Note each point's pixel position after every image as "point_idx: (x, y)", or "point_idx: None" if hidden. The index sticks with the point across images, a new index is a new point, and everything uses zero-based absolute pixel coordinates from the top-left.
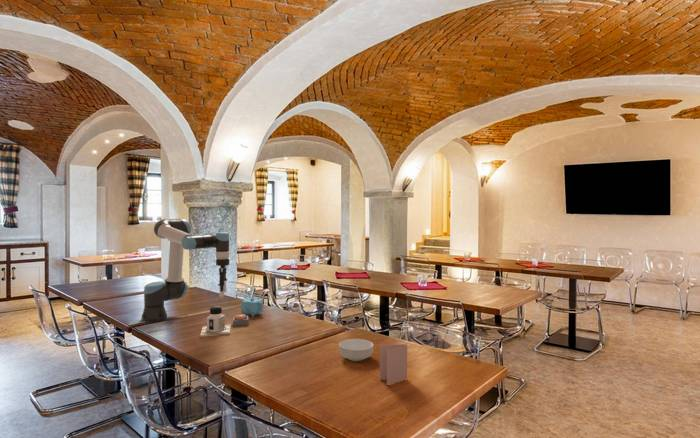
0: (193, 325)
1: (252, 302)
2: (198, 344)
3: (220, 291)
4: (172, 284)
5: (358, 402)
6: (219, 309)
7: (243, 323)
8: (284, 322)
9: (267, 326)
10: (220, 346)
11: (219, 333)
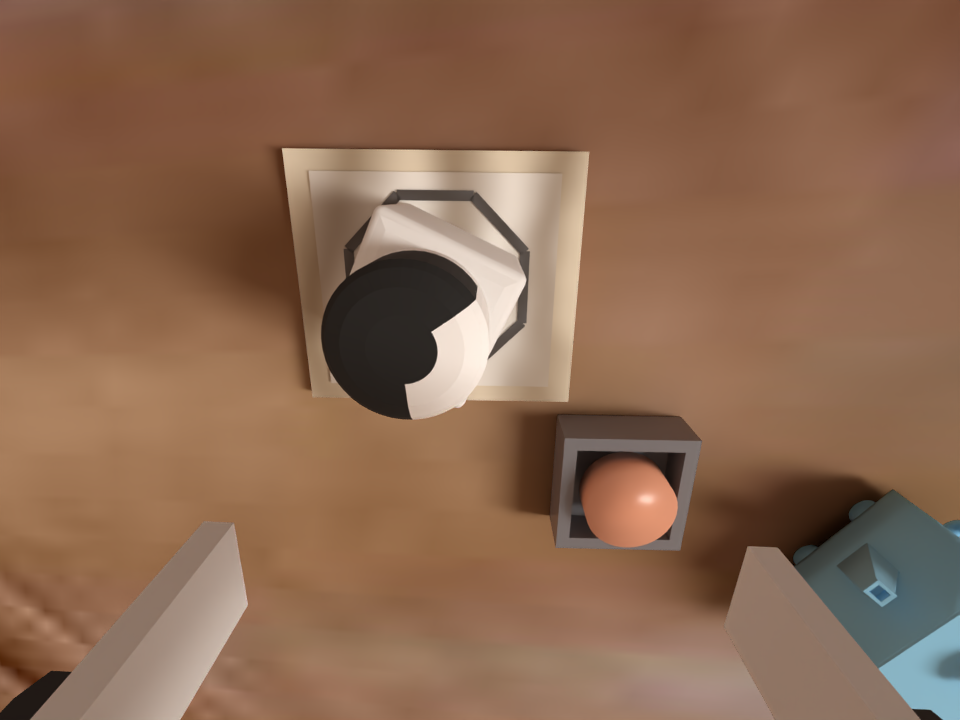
0: (720, 35)
1: (882, 663)
2: (75, 154)
3: (115, 651)
4: None
5: None
6: (348, 392)
7: (554, 494)
8: (544, 705)
9: (479, 618)
10: (36, 331)
11: (311, 319)
